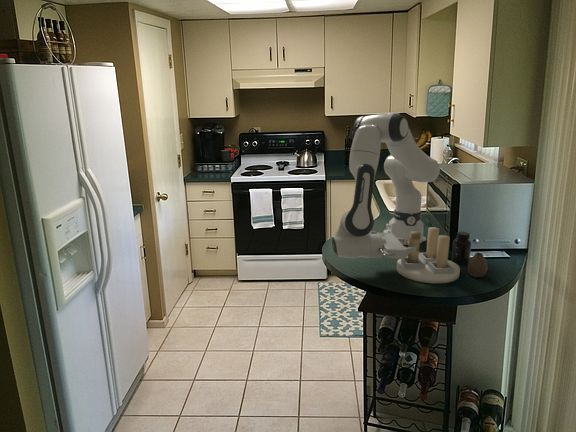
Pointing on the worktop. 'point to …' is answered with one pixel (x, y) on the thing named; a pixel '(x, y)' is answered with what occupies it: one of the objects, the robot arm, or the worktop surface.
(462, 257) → the supplement bottle
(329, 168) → the worktop surface
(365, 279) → the worktop surface
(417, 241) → the stool leg
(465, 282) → the worktop surface
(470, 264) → the vase
